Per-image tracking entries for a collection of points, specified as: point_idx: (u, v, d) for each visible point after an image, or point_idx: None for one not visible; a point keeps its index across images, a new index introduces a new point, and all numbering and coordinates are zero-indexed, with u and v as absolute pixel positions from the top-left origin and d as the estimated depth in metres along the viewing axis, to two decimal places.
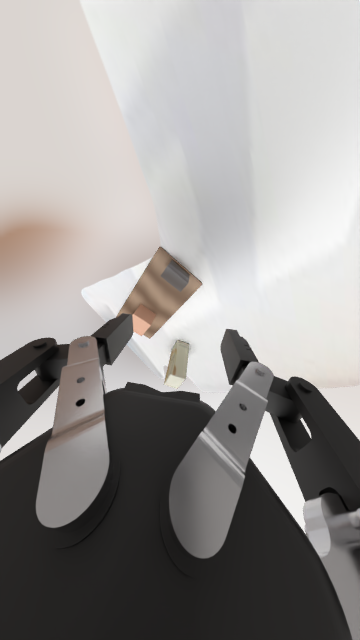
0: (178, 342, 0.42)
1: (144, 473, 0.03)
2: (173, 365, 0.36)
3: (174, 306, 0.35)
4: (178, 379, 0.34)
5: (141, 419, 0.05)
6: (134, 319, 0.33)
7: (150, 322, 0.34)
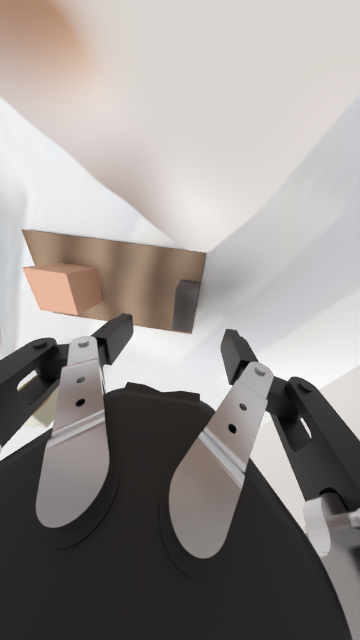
0: None
1: (144, 473, 0.03)
2: None
3: (137, 318, 0.22)
4: (33, 421, 0.18)
5: (141, 419, 0.05)
6: (57, 281, 0.15)
7: (81, 309, 0.17)
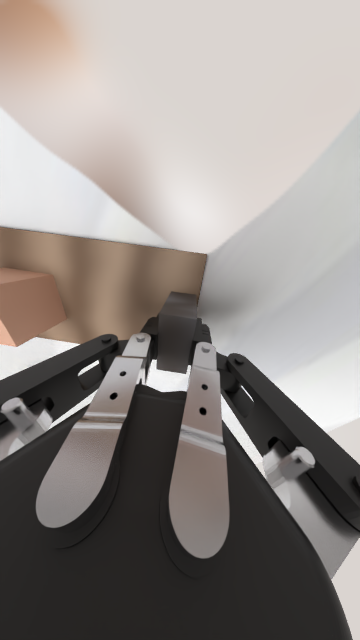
0: None
1: (144, 473, 0.03)
2: None
3: None
4: None
5: (141, 419, 0.05)
6: None
7: (25, 336, 0.12)
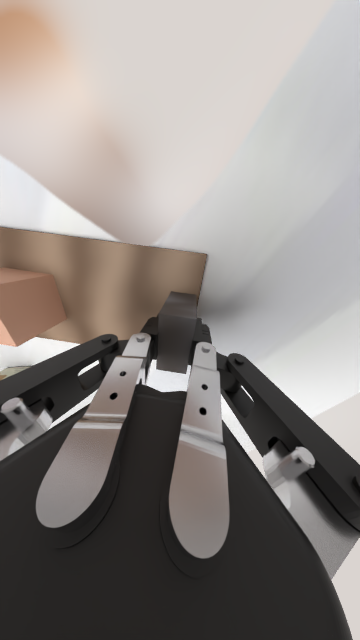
0: None
1: (144, 473, 0.03)
2: None
3: None
4: None
5: (141, 419, 0.05)
6: None
7: (25, 336, 0.12)
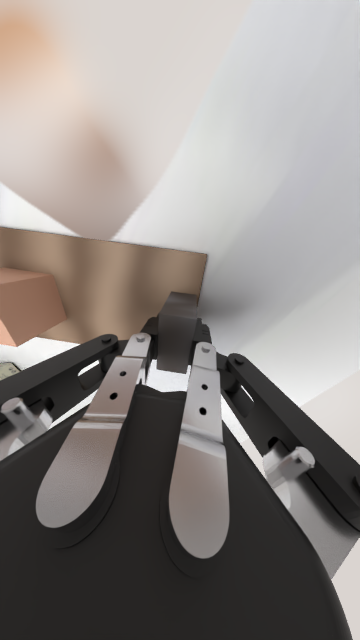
0: (6, 369, 0.21)
1: (144, 473, 0.03)
2: None
3: None
4: None
5: (141, 419, 0.05)
6: None
7: (25, 336, 0.12)
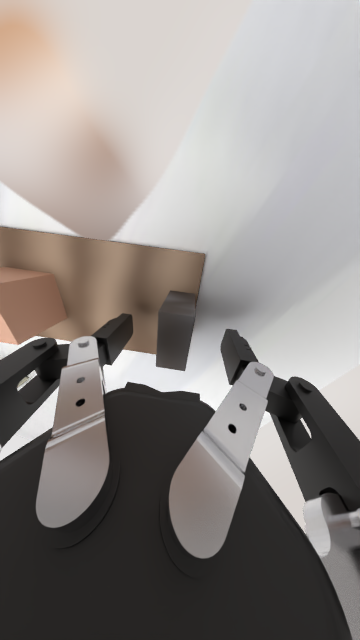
0: None
1: (144, 473, 0.03)
2: None
3: None
4: None
5: (141, 419, 0.05)
6: None
7: (26, 335, 0.12)
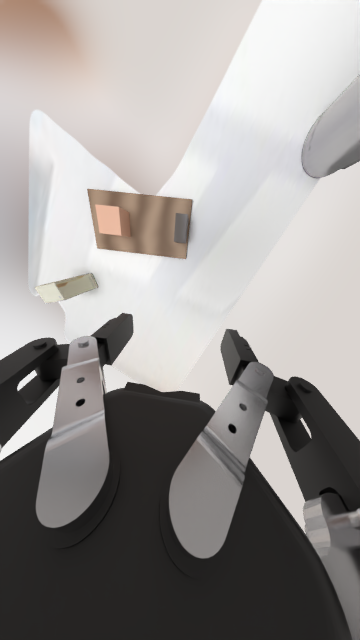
0: (90, 275, 0.40)
1: (144, 472, 0.03)
2: (65, 281, 0.32)
3: (152, 249, 0.35)
4: (57, 293, 0.31)
5: (141, 419, 0.05)
6: (112, 212, 0.28)
7: (122, 233, 0.30)
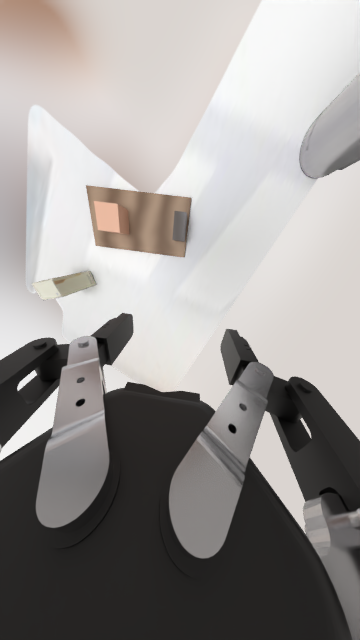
0: (88, 273, 0.40)
1: (144, 473, 0.03)
2: (63, 278, 0.32)
3: (150, 247, 0.35)
4: (54, 290, 0.31)
5: (141, 419, 0.05)
6: (111, 209, 0.28)
7: (121, 230, 0.30)
